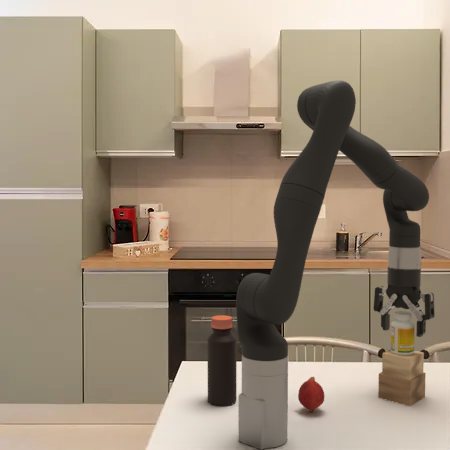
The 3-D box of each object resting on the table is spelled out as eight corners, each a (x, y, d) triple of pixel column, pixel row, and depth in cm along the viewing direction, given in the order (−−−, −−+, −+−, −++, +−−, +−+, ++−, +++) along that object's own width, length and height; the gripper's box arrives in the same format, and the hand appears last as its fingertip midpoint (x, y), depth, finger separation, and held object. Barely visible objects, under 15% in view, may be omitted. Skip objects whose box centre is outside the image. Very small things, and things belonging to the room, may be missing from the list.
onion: (304, 417, 128) (304, 382, 128) (294, 408, 134) (294, 373, 133) (328, 414, 130) (328, 379, 129) (317, 405, 135) (317, 371, 135)
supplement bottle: (386, 352, 140) (386, 312, 139) (399, 347, 143) (399, 309, 143) (406, 357, 136) (406, 316, 135) (418, 352, 139) (419, 312, 138)
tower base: (409, 406, 135) (410, 381, 134) (378, 398, 140) (378, 373, 140) (424, 397, 141) (425, 372, 140) (394, 389, 146) (394, 365, 146)
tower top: (409, 380, 135) (410, 359, 135) (382, 373, 140) (382, 353, 139) (423, 373, 140) (423, 352, 140) (396, 366, 145) (396, 347, 144)
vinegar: (235, 407, 134) (235, 321, 133) (206, 406, 135) (206, 320, 133) (237, 396, 141) (237, 314, 140) (209, 395, 142) (208, 314, 140)
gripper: (369, 264, 140) (367, 330, 141) (426, 270, 131) (424, 341, 132) (384, 261, 146) (382, 325, 147) (440, 266, 136) (438, 335, 137)
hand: (402, 333), depth 139 cm, fingers open, 8 cm apart
